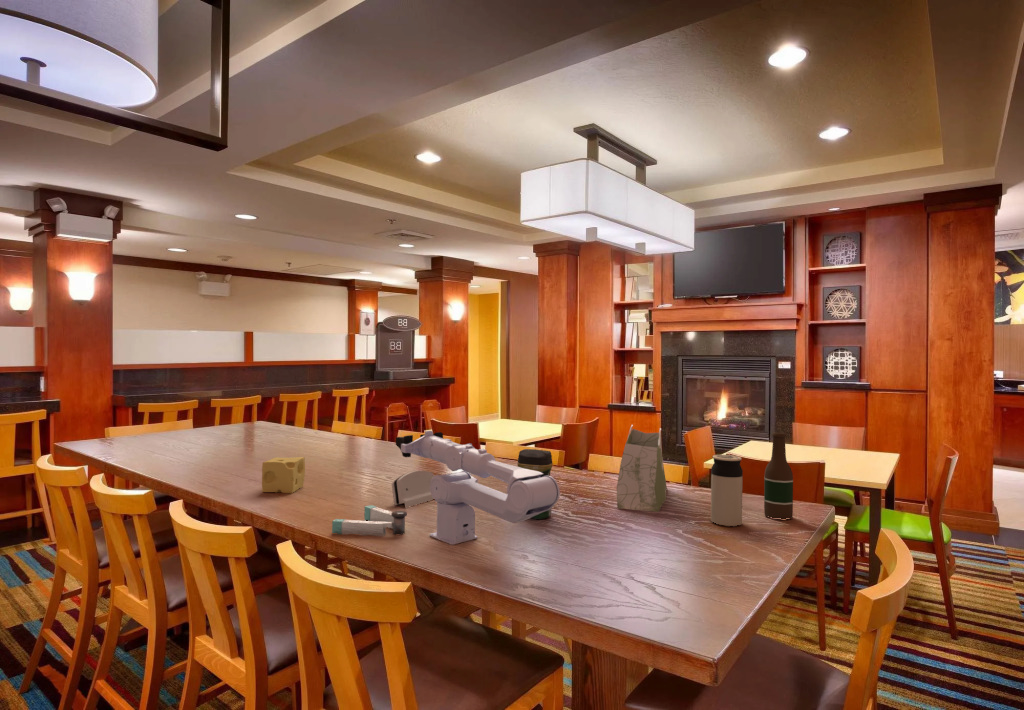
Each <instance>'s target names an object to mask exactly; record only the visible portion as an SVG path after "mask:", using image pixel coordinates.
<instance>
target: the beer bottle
mask: <svg viewBox="0 0 1024 710" xmlns="http://www.w3.org/2000/svg"><path fill="white" fill-rule="evenodd" d="M786 435H787V434H786V433H785V432H783V431H773V432H772V435H771V436H772V451H771V457H770V461H769V462H768V463H767V465H766V467H765V469H764V484H763V485H764V486H763V489H764V491H763V494H764V499H763V501H764V502H763V508H764V509H763V510H764V512H763V513H764V516H769V517H772V518H781V519H786V518H791V517H792V518H793V512H794V510H793V509H794V473H793V471H792V468H791V466H790V465H789V463H788V461H787V454H786V452H787V451H786V438H787V436H786Z"/></svg>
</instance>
